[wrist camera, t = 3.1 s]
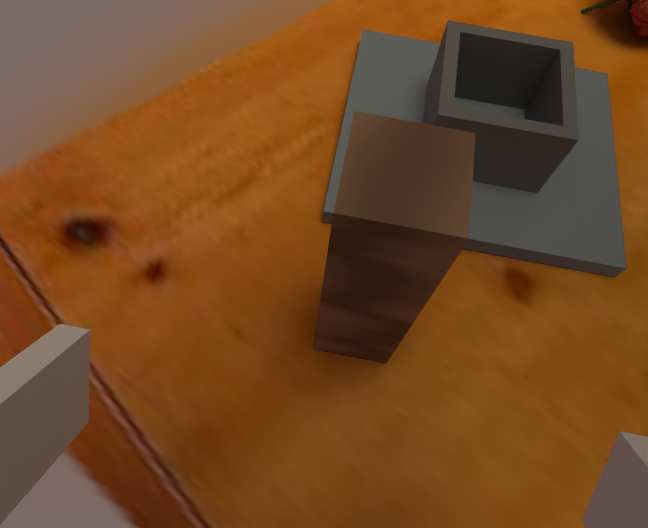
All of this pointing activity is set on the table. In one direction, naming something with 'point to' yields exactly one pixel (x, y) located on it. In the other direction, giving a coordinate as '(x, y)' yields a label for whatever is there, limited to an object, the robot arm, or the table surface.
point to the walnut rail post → (392, 231)
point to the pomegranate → (644, 7)
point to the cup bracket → (506, 137)
